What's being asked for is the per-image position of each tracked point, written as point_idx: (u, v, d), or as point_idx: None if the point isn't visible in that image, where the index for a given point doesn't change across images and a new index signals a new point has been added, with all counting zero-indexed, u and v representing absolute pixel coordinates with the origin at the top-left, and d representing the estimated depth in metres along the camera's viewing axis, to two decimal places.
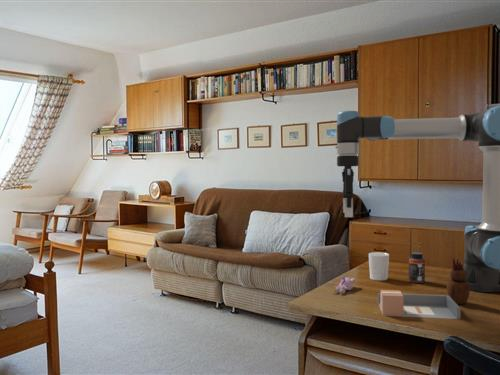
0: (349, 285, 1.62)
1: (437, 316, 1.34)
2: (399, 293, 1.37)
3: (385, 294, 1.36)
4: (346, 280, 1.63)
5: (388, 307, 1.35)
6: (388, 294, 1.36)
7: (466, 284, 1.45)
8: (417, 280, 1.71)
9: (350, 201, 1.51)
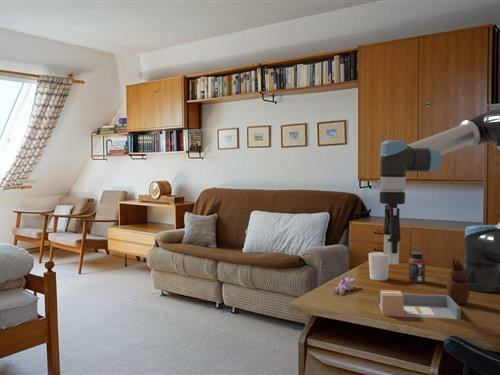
0: (349, 285, 1.62)
1: (437, 316, 1.34)
2: (399, 293, 1.37)
3: (385, 294, 1.36)
4: (346, 280, 1.63)
5: (388, 307, 1.35)
6: (388, 294, 1.36)
7: (466, 284, 1.45)
8: (417, 280, 1.71)
9: (396, 246, 1.30)
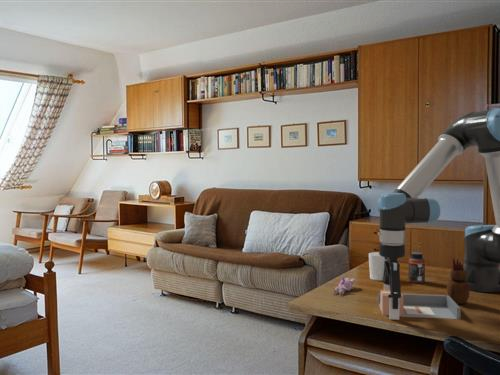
0: (349, 286, 1.61)
1: (437, 316, 1.34)
2: None
3: (385, 294, 1.36)
4: (346, 280, 1.63)
5: (388, 307, 1.35)
6: (388, 294, 1.36)
7: (466, 284, 1.45)
8: (417, 280, 1.71)
9: (397, 302, 1.29)
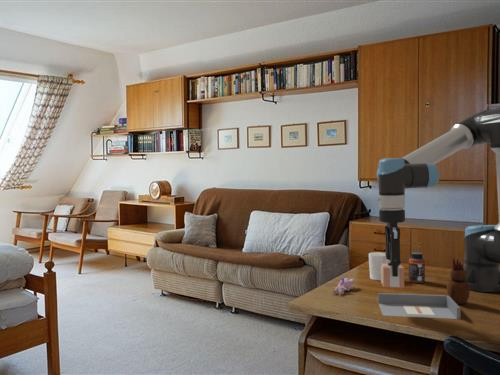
0: (348, 286, 1.61)
1: (437, 316, 1.34)
2: (400, 265, 1.36)
3: (386, 266, 1.36)
4: (345, 281, 1.62)
5: (389, 279, 1.35)
6: (389, 266, 1.36)
7: (466, 284, 1.45)
8: (417, 280, 1.71)
9: (396, 269, 1.32)
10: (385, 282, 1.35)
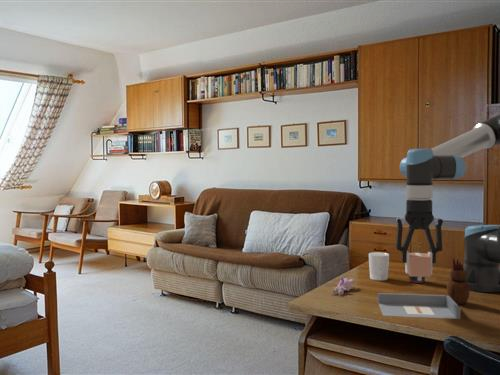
0: (348, 286, 1.61)
1: (437, 316, 1.34)
2: (418, 256, 1.37)
3: (411, 253, 1.41)
4: (345, 281, 1.62)
5: None
6: (411, 254, 1.40)
7: (466, 284, 1.45)
8: (417, 280, 1.71)
9: (402, 255, 1.39)
10: None
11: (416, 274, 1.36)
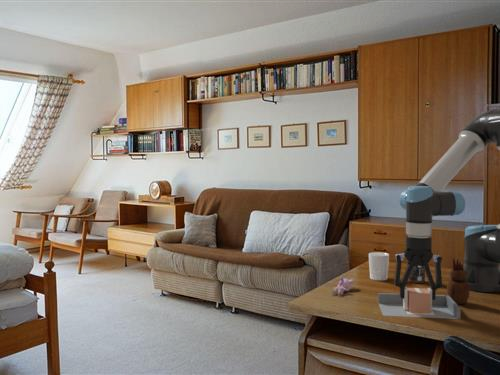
0: (347, 286, 1.61)
1: (437, 316, 1.34)
2: (417, 292, 1.37)
3: (410, 288, 1.42)
4: (344, 281, 1.62)
5: (407, 300, 1.41)
6: (411, 289, 1.41)
7: (466, 284, 1.45)
8: (417, 280, 1.71)
9: (400, 291, 1.40)
10: None
11: (416, 310, 1.37)
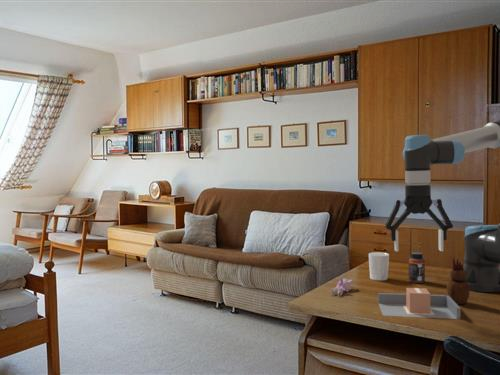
0: (347, 286, 1.60)
1: (437, 316, 1.34)
2: (417, 292, 1.37)
3: (410, 288, 1.42)
4: (344, 281, 1.61)
5: (407, 300, 1.41)
6: (411, 289, 1.41)
7: (466, 284, 1.45)
8: (417, 280, 1.71)
9: (391, 234, 1.43)
10: (406, 302, 1.42)
11: (416, 310, 1.37)
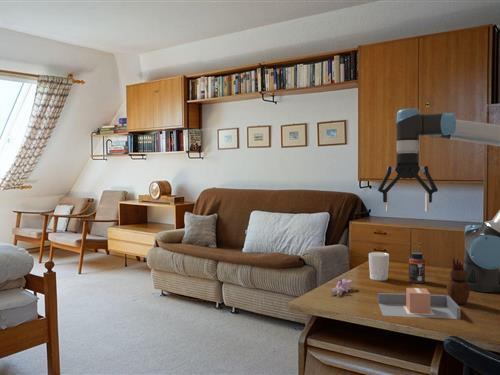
0: (346, 287, 1.60)
1: (437, 316, 1.34)
2: (417, 292, 1.37)
3: (410, 288, 1.42)
4: (343, 282, 1.61)
5: (407, 300, 1.41)
6: (411, 289, 1.41)
7: (466, 284, 1.45)
8: (417, 280, 1.71)
9: (383, 196, 1.62)
10: (406, 302, 1.42)
11: (416, 310, 1.37)
